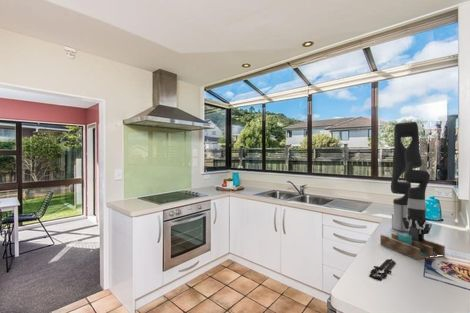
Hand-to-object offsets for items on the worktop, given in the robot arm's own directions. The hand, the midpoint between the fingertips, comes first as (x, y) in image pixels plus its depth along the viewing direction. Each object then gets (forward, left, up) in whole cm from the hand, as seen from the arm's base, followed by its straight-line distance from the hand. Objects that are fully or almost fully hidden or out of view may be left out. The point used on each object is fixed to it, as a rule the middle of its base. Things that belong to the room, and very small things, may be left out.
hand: (416, 239), depth 118 cm
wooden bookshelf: (0, -4, -5) cm, 6 cm away
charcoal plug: (0, 0, -1) cm, 1 cm away
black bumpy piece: (+13, -36, -6) cm, 39 cm away
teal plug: (0, -8, -4) cm, 9 cm away
